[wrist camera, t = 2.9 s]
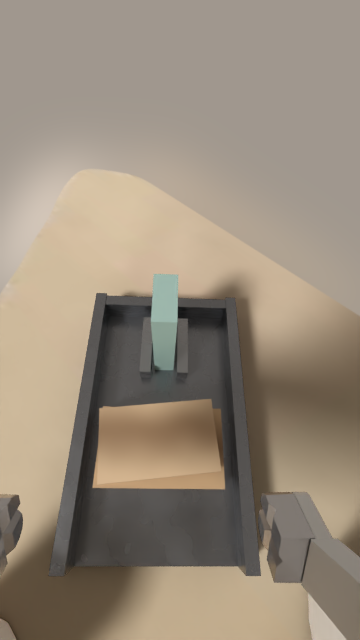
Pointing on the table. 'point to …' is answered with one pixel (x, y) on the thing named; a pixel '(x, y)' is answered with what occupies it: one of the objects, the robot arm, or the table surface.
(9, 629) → the white cup
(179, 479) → the offcut stack
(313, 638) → the toilet tissue
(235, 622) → the table surface
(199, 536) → the tray
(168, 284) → the sage board
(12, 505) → the robot arm
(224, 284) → the table surface
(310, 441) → the table surface
